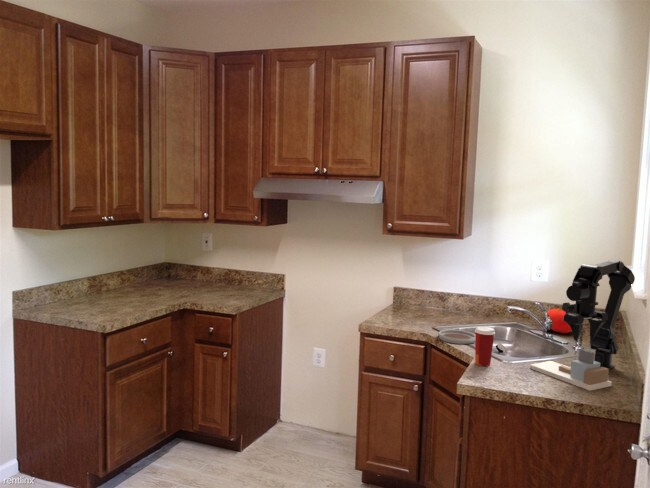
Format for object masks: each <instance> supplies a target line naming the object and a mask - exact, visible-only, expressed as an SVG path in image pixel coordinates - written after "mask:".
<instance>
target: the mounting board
mask: <svg viewBox="0 0 650 488" xmlns="http://www.w3.org/2000/svg"><path fill="white" fill-rule="evenodd" d="M529 369H531V370H534V371H536V372H539V373H541V374H544V375H547V376H550V377H552V378H554V379H557V380H560V381H563V382H566V383H568V384H571V385H573V386H575V387H579V388H581V389H584V390H586V391H590V392H591V391H594V390H595V391H596V390H599V389H603V388H608V387H612V383H613V381H610V380H609V373H610V372H609V371H610V368H609V369H607V368H604V367H599V368H594V369H589V370H585V371H584V381H580V380H578V379H575V378H572V377H570V375H571V372H570V371H571V366H567V365H564V364H562V363H559V362H556V361H552V360H547V361H543V362H536V363H531V364H529Z"/></svg>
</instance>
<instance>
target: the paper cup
mask: <svg viewBox="0 0 650 488" xmlns="http://www.w3.org/2000/svg"><path fill="white" fill-rule="evenodd" d="M474 332H475V333H474V334H475V342H474V343H475V344H474V346H475V348H474V351H475V353H474V354H475V355H474V357H475V358H474V363H475V365H477V366H479V367H489V366H491V362H492V354H493V345H494V339H495V338H494V335H495V334H496V332H495V328H492V327H488V326H478V327H476V328H475V330H474Z"/></svg>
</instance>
